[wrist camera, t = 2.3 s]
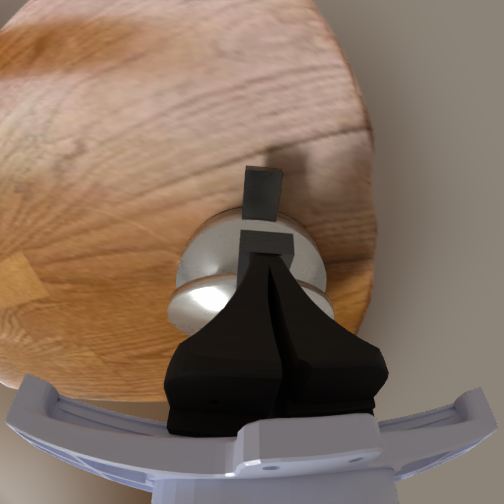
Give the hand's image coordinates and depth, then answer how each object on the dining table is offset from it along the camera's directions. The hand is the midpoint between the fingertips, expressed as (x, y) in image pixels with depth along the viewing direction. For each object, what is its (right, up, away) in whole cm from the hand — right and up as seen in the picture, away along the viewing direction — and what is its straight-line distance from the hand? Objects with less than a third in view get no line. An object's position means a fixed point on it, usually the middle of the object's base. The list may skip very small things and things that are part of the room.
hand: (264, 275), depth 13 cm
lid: (0, -3, +6) cm, 7 cm away
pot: (-1, 0, +11) cm, 11 cm away
